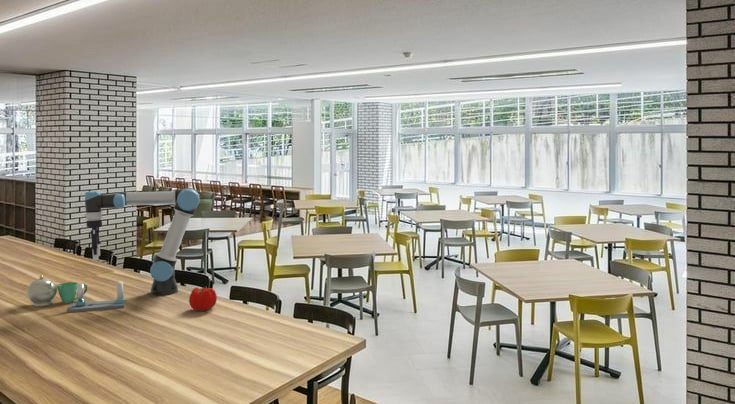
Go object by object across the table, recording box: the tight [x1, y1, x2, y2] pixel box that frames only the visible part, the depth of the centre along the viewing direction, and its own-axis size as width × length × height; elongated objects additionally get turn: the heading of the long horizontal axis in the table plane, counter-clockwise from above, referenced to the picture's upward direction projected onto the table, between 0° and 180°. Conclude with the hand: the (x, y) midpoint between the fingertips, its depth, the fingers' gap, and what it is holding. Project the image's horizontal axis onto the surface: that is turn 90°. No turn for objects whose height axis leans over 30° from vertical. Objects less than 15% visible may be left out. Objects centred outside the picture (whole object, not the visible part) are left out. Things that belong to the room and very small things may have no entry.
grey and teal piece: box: [67, 281, 126, 313], centre depth 282 cm, size 26×12×12 cm, turn 111°
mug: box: [56, 281, 88, 304], centre depth 292 cm, size 15×10×10 cm
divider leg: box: [75, 283, 87, 306], centre depth 279 cm, size 4×3×11 cm
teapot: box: [26, 274, 58, 308], centre depth 284 cm, size 18×14×16 cm
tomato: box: [188, 287, 218, 312], centre depth 279 cm, size 13×14×12 cm
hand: (96, 258), depth 290 cm, fingers open, 13 cm apart
